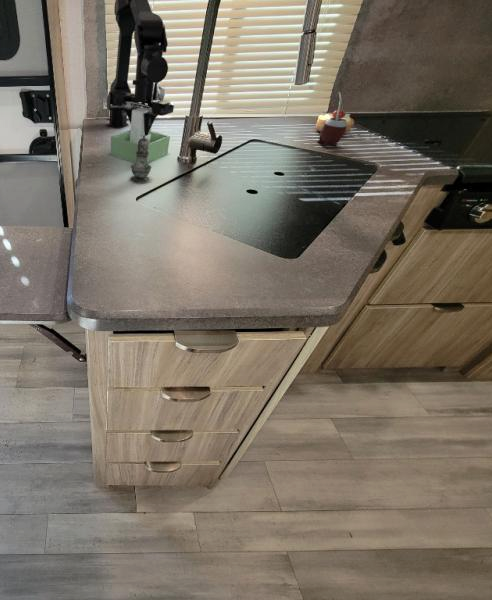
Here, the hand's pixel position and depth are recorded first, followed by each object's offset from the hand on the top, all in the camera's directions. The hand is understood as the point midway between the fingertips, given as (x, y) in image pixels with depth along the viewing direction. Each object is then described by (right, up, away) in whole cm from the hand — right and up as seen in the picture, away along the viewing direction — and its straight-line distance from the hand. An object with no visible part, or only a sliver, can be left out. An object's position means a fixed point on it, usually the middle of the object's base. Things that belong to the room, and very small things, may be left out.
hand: (140, 133), depth 105 cm
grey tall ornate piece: (-2, -19, -11) cm, 22 cm away
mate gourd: (+68, +2, +11) cm, 69 cm away
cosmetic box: (0, -4, +4) cm, 5 cm away
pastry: (+77, +11, +21) cm, 80 cm away
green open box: (0, -5, +4) cm, 6 cm away
